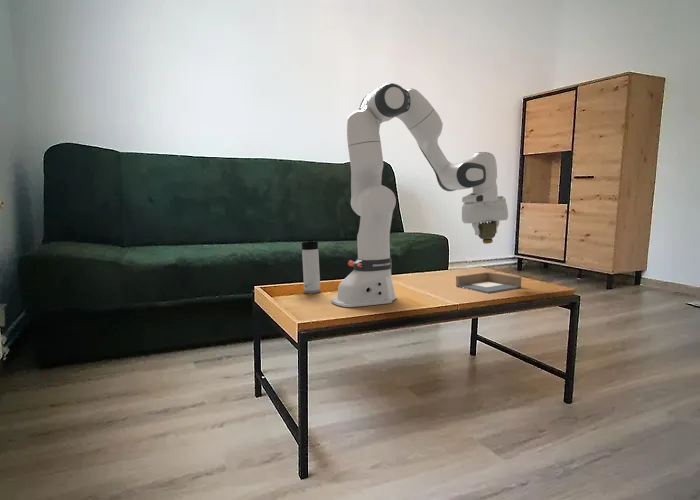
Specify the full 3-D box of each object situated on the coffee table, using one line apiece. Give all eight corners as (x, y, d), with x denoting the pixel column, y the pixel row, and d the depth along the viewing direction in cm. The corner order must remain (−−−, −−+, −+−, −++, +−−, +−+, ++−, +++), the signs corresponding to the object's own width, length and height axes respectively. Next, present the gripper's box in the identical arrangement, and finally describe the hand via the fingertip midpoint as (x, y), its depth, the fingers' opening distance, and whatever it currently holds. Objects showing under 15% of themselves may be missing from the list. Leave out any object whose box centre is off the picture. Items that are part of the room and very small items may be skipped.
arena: (488, 293, 160) (488, 282, 160) (456, 286, 175) (456, 276, 175) (521, 287, 167) (521, 277, 167) (487, 281, 182) (487, 271, 182)
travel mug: (305, 294, 172) (302, 241, 170) (303, 291, 179) (300, 240, 177) (321, 293, 173) (319, 240, 171) (319, 290, 180) (316, 239, 178)
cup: (500, 242, 167) (498, 221, 166) (480, 245, 168) (477, 223, 167) (495, 240, 174) (493, 220, 173) (475, 243, 175) (473, 222, 174)
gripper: (499, 196, 177) (499, 231, 178) (458, 198, 167) (459, 236, 169) (511, 195, 171) (512, 232, 173) (470, 197, 162) (471, 236, 163)
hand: (486, 234), depth 171 cm, fingers closed on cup, 7 cm apart
